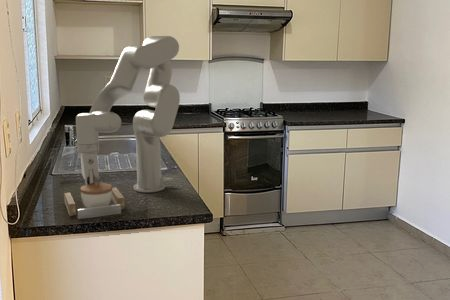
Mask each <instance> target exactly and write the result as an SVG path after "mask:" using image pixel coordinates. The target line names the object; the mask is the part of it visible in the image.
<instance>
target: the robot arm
mask: <svg viewBox="0 0 450 300" xmlns="http://www.w3.org/2000/svg"><path fill="white" fill-rule="evenodd" d="M179 51H180V45H179V42H178V39H176V38H175V37H173V36H171V35H153V36H148V37H146V38H145V39H144V40H143V42H142V45H129V46H126V47H125V48H124V49H123V51H122V52H121V54H120V57H119V59H118V61H117V64H116V66H115V68H114V71H113V73H112V76H111V78H110V80H109V82H108V83H107V84H106V85H105V86H104V88H103V89H101V91H100V92H99V93H98V95H97V96H96V97H95V99H94V100H93V103H92V105H91V108H90V110H89V112H81V113H78V114H77V115H76V116H75V128H76V129H75V131H76V147H77V148H76V149H77V153H78V154H80V164H81V174H82V177H83V179H84V183H85V184H84V185H87V184H90V185H91V184H94V183H95V179H96V180H97V181H99V180H100V175H99V160H98V153H99V152H100V142H99V141H100V139H99V136H100V135H99V133H106V134H107V133H108V134H109V133H110V134H111V133H115V132H117V131H119V129H120V128H121V127H122V119H121V117H120V115H118V114H117V113H115V112H114V111H111V109H112V107H113V105H114V104H115V103H116V102H117V101H119V99H121V98H122V97H124V96H127V95H129V93H131V92H132V90H133V89H134V87H135V84H136V81H137V78H138V76H139V74H140V71H141V70H150V71H149V73H148V74H149V75H148V78H147V82H146V85H145V90H144V93H143V102H144V104H146V105H147V106H149V107H150V108H151V107H152V108H155V110H152V109H141V110H139V111H137V112H136V113H135V114H134V116H133V119H132V128H133V133H134V138H135V150H136V151H135V156H136V158H135V161H136V183H135V184H133V188H132V189H133V190H134V191H135V192H137V193H138V192H139V193H156V192H157V193H158V192H161V191H163V190H165V189H166V183H167V184H168V183H174V178H173V177H168V176H167V177H163V176H162V158H161V156H162V155H161V140H160V138H164V137H167V136H168V135H169V134H170V133H171V131H172V129H173V127H174V124H175V120H176V117H177V114H178V110H179V107H180V102H181V101H180V100H181V98H180V97H181V96H180V92H179V90H178V89H177V87H176V86H174V85H172V84H171V79H172V75H173V74H172V73H173V69H172V65H171V60H172V59H174V58H175V57H177V56H178V53H179Z"/></svg>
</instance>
